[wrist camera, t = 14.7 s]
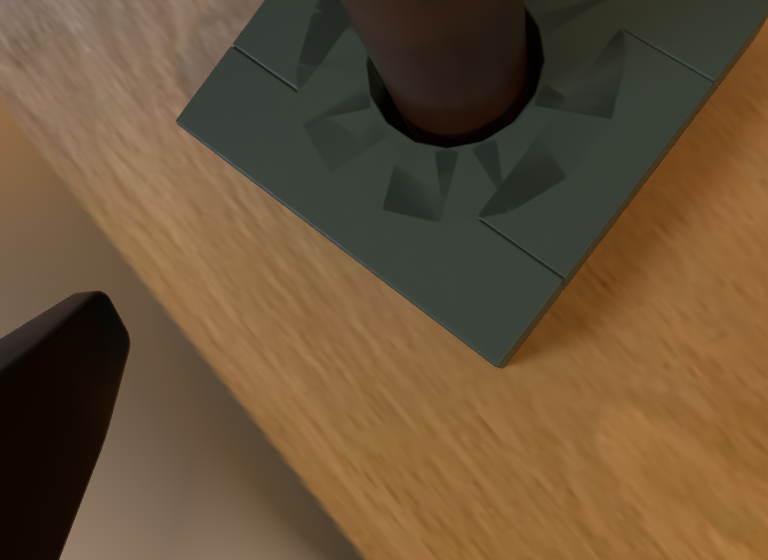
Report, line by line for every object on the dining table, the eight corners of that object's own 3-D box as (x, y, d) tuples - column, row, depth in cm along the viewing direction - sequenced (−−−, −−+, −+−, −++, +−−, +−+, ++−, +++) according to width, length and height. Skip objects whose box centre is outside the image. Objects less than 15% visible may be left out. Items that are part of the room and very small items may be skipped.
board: (502, 369, 20) (497, 368, 18) (211, 147, 24) (173, 121, 21) (755, 37, 20) (784, -10, 18) (427, -144, 23) (414, -204, 21)
